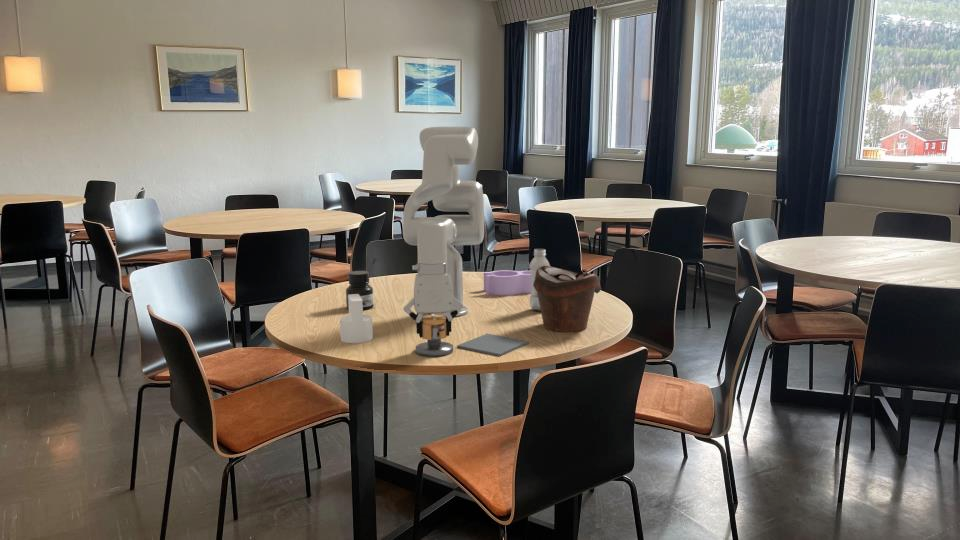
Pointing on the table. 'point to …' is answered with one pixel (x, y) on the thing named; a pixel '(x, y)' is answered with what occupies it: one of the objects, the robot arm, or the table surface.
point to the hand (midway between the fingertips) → (434, 334)
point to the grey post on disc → (434, 344)
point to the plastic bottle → (534, 265)
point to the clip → (507, 282)
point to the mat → (493, 344)
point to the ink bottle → (360, 288)
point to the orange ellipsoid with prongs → (433, 320)
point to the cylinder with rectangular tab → (356, 322)
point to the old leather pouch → (565, 297)
